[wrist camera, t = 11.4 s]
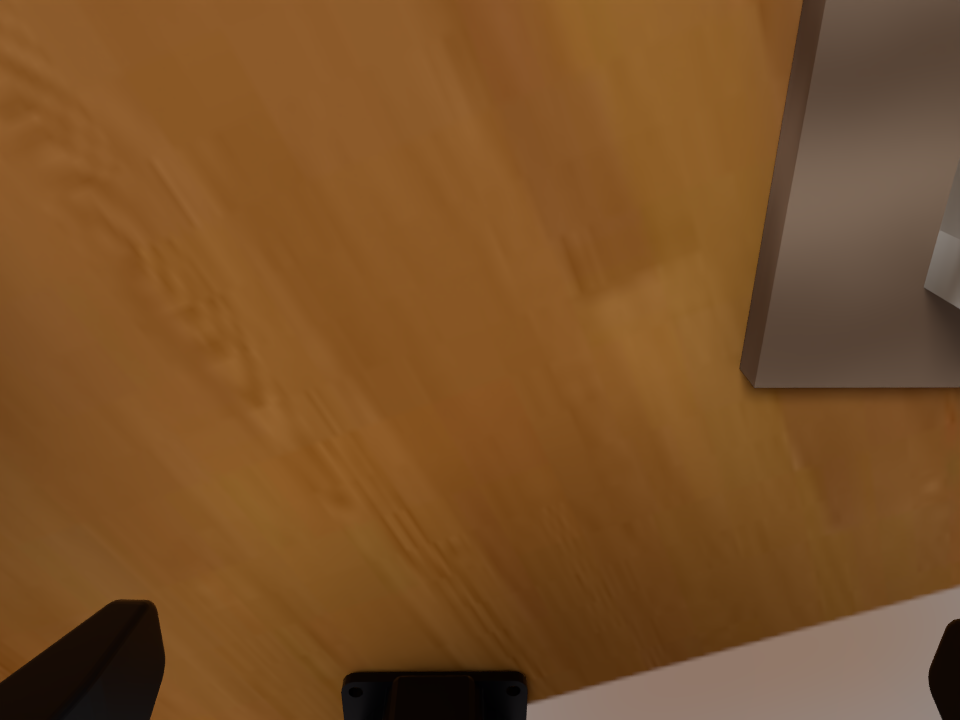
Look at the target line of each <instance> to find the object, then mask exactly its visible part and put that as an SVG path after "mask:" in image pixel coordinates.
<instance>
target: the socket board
mask: <svg viewBox="0 0 960 720" xmlns="http://www.w3.org/2000/svg"><path fill="white" fill-rule="evenodd" d="M740 370H741V371H742V372H743V374H744V375H745V376H746V378H747V379H748V380H749V381H750V383H751V384H752V385H753V387H754V388H869V387H960V0H803V6H802V11H801V17H800V23H799V29H798V35H797V40H796V46H795V52H794V58H793V63H792V69H791V75H790V81H789V86H788V92H787V98H786V104H785V110H784V115H783V121H782V127H781V133H780V138H779V144H778V150H777V156H776V161H775V167H774V173H773V179H772V185H771V190H770V196H769V202H768V208H767V213H766V219H765V225H764V231H763V237H762V242H761V248H760V254H759V260H758V265H757V271H756V277H755V283H754V288H753V294H752V300H751V306H750V312H749V317H748V323H747V329H746V335H745V340H744V346H743V352H742V358H741V363H740Z"/></svg>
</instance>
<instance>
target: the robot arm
mask: <svg viewBox="0 0 960 720" xmlns="http://www.w3.org/2000/svg"><path fill="white" fill-rule="evenodd" d="M164 668H165V652H164V646H163V640H162V635H161V629H160V623H159V618H158V612H157V609H156V606H155V605H154V603H153V602H151V601H149V600H123V599H120V600H115V601H113V602H111V603H109V604H108V605H106V606H105V607H103V608H102V609H101V610H99V611H98V612H96V613H95V614H94V615H92V616H91V617H90V618H88V619H87V620H86V621H84V622H83V623H81V624H80V625H79V626H77V627H76V628H75V629H73V630H72V631H70V632H69V633H68V634H66V635H65V636H64V637H62V638H61V639H60V640H58V641H57V642H55V643H54V644H53V645H51V646H50V647H49V648H47V649H46V650H44V651H43V652H42V653H40V654H39V655H38V656H36V657H35V658H33V659H32V660H31V661H29V662H28V663H27V664H25V665H24V666H23V667H21V668H20V669H18V670H17V671H16V672H14V673H13V674H12V675H10V676H9V677H7V678H6V679H5V680H3V681H2V682H1V683H0V720H150V717H151V714H152V711H153V708H154V704H155V701H156V698H157V695H158V691H159V688H160V685H161V681H162V678H163V674H164ZM928 678H929V687H930V690H931V694H932V697H933V699H934V701H935V704H936V706H937V708H938V711H939V713H940V715H941V718H942V720H960V619H956V620H953V621H952V622H950V623H949V624H948V625H947V627H946V629H945V631H944V634H943V636H942V639H941V641H940V644H939V646H938V649H937V651H936V654H935V656H934V659H933V661H932V663H931V666H930V669H929V676H928ZM510 686H514V687H510ZM354 687H358V688H354ZM341 694H342V703H343V713H344V720H526V712H527V681H526V677H525V676H524V675H523V674H521V673H519V672H513V671H504V672H379V673H351V674H349V675H347V676H346V677H345V678H344V681H343V686H342V692H341Z"/></svg>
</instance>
